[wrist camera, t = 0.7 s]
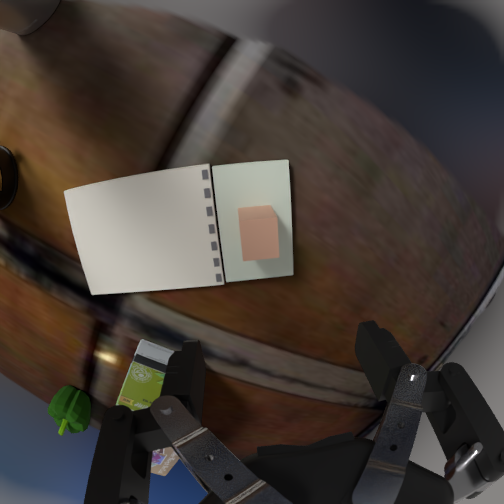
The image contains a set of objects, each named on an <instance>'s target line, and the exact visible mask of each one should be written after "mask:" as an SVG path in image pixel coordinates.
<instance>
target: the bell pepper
mask: <svg viewBox="0 0 504 504" xmlns="http://www.w3.org/2000/svg"><path fill="white" fill-rule="evenodd" d="M48 414H49V415H51V416H52V417H53V418H54V420H55V422H56V424H57V425H58V426H60V429H59V434H60V435H61V436H62V435H63V433H64V431H65V428H66V429H67V430H68V431H70V432H71V433H78V432H80V431H85V430H86V429H87V428H88V425H89V422H90V414H91V403H90V399H89V397H88V396H87V395H86V393H85V392H83V391H81V390H77V389H76V388H74V387H73V386H71V385H68V386H64V387H63V388H61V389H60V390H59V391H58V392H57V393H56V395H55V396H54V397H53V399H52V401H51V403H50V405H49V407H48Z"/></svg>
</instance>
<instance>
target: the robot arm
mask: <svg viewBox="0 0 504 504" xmlns="http://www.w3.org/2000/svg"><path fill="white" fill-rule="evenodd" d="M59 2H60V0H0V29H3V30H6V31H9V32H12V33H15V34H18V35H27V34H29V33H32V32H33V31H35V30H36V29H38V28H39V27H40V26H42V25H43V24H44V23H45V22H46V21H47V20H48V19H49V17H50V16H51V15H52V14H53V12H54V11H55V9H56V8H57V6H58V4H59ZM355 353H356V356H357V358H358V360H359V362H360V364H361V366H362V368H363V370H364V372H365V374H366V377H367V379H368V381H369V383H370V385H371V387H372V389H373V391H374V393H375V395H376V397H377V399H378V401H382V400H387V402H388V404H387V406H386V409H385V412H384V414H383V417H382V420H381V422H380V425H379V428H378V430H377V432H376V435H375V437H374V439H373V441H372V440H369V439H366V438H358V437H353V434H352V432H348V433H344V434H339V435H334V436H330V437H327V438H325V439H323V440H320V441H318V442H316V443H313V444H311V445H308V446H297V445H282V444H280V445H271V446H261V447H257V453H255V454H252V455H250V456H247V457H245V458H243V459H242V460H240V461H239V460H238V459H237V458H236V457H235V456H234V455H233V454H232V453H231V452H230V451H229V450H228V449H227V448H226V447H225V446H224V445H223V444H222V443H221V442H220V441H219V440H218V439H217V438H216V437H215V436H214V435H213V434H212V432H211V431H210V430H209V429H207V428H206V427H205V428H203V427H202V426H201V422H202V410H203V398H204V387H205V376H206V367H205V361H204V357H203V353H202V349H201V344H200V341H199V340H192V341H184V342H183V347H182V351H174V353H173V354H172V355H171V356H170V357H169V360H168V364H167V368H166V372H165V376H164V380H163V384H162V388H161V392H160V396H159V397H158V398H157V399H155V400H154V401H153V402H152V404H151V406H150V407H148V408H144V409H139V410H134V411H132V410H131V409H130V408H129V407H127V406H125V405H115V406H113V407H111V408H109V409H108V410H107V411H106V413H105V415H104V419H103V422H102V426H101V429H100V433H99V437H98V441H97V445H96V449H95V453H94V457H93V461H92V465H91V470H90V475H89V479H88V484H87V489H86V494H85V499H84V504H148V498H149V484H150V474H151V464H152V454H153V451H154V450H159V449H163V448H168V447H171V448H172V449H173V450H174V452H175V453H176V454H177V456H178V457H179V458H180V460H181V461H182V462H183V463H184V465H185V466H186V467H187V468H188V470H189V471H190V472H191V473H192V475H193V476H194V477H195V478H196V480H197V481H198V482H199V483H200V484H201V486H202V487H203V488H204V489H205V490H206V491H207V492H208V494H207V496H206V497H205V498H204V499H203V500H202V501H201V502H200V503H199V504H455V503H457V502H459V501H460V500H462V499H464V498H467V499H471V498H474V497H476V496H477V495H479V494H480V493H481V492H483V491H484V490H485V489H487V488H488V487H489V486H491V485H492V484H493V483H495V482H496V481H497V480H498V479H499V478H501V477H502V476H503V475H504V431H503V429H502V427H501V425H500V424H499V422H498V420H497V419H496V417H495V415H494V414H493V412H492V410H491V409H490V407H489V405H488V404H487V402H486V401H485V399H484V398H483V396H482V394H481V393H480V391H479V390H478V388H477V387H476V385H475V384H474V382H473V381H472V379H471V378H470V376H469V375H468V374H467V372H466V371H465V369H464V368H463V367H462V366H461V365H459V364H457V363H454V362H450V363H446V364H445V365H443V367H442V369H441V371H426V370H425V369H424V368H423V367H422V366H420V365H418V364H412V363H411V361H410V360H409V358H408V357H407V355H406V354H405V352H404V351H403V349H402V348H401V347H400V346H399V344H398V342H397V341H396V339H395V338H394V336H393V335H392V334H391V333H390V332H389V331H387V330H386V329H384V328H381V329H380V328H379V327H378V325H377V324H376V322H375V321H374V320H372V321H366V322H361V323H359V325H358V331H357V337H356V343H355ZM422 412H425V413H426V415H427V417H428V419H429V421H430V423H431V425H432V427H433V429H434V432H435V434H436V436H437V438H438V440H439V442H440V445H441V447H442V449H443V452H444V454H445V456H446V459H447V463H446V464H445V467H444V472H445V475H444V477H442V476H440V475H438V474H436V473H434V472H432V471H430V470H428V469H426V468H424V467H422V466H420V465H418V464H416V463H414V462H412V461H410V460H409V457H410V454H411V451H412V448H413V444H414V441H415V438H416V434H417V430H418V426H419V423H420V418H421V415H422Z"/></svg>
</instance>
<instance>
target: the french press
mask: <svg viewBox="0 0 504 504" xmlns="http://www.w3.org/2000/svg"><path fill="white" fill-rule="evenodd" d="M0 170H1V176H2V190H1V191H0V210H2V209H5V208H7V207H8V206H9V205H10V204H11V203H12V201H13V200H14V198H15V195H16V192H17V187H18V169H17V164H16V160H15V158H14V156H13V154H12V153H11V151H10V150H9V149H8V148H6V147H4V146H0Z"/></svg>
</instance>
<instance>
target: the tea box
mask: <svg viewBox="0 0 504 504" xmlns="http://www.w3.org/2000/svg"><path fill="white" fill-rule="evenodd" d="M173 353H174V351H173V350H170V349H167V348H165V347H162V346H159V345H157V344H154V343H151V342H149V341H146V340H144V339H142V340H141V341H140V343H139V345H138V348H137V350H136V353H135V355H134V358H133V360H132V363H131V365H130V368H129V371H128V373H127V376H126V379H125V381H124V384H123V387H122V389H121V392H120V395H119V398H118V400H117V403H116V405H125V406H127V407H129V408H130V409H131V410H132V411H134V410H139V409H144V408H148V407H150V406H151V404H152V402H153V401H154V400H155V399H157V398H158V397H159V396H160V392H161V388H162V384H163V380H164V376H165V372H166V368H167V364H168V360H169V357H170V356H171V355H172V354H173ZM178 460H179V457H178V456H177V454H176V453H175V452H174V450H173V449H172V448H171V447H168V448H163V449H159V450H154V451H153V454H152V464H151V473H155V474H159V475H163V476H166V474H167V473H168V472H169V471H170V469H171V468H172V467H173V466H174V465H175V463H176V462H177V461H178Z"/></svg>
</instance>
